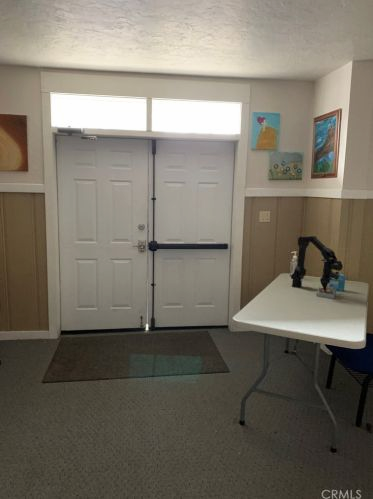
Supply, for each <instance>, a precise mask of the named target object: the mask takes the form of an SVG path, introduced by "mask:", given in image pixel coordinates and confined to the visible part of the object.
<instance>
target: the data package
mask: <svg viewBox="0 0 373 499" xmlns="http://www.w3.org/2000/svg"><path fill="white" fill-rule="evenodd" d="M339 274H340V276H339V278H338V280H336V279H335V278H332V280H330V284H329V287H332V288H333V291H334V290H336V292H338V291H339V292H343V291H344V290H345V285H346V275H345V274H341V273H339Z"/></svg>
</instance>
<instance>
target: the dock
mask: <svg viewBox="0 0 373 499" xmlns="http://www.w3.org/2000/svg"><path fill="white" fill-rule="evenodd" d="M336 294H337V291H336V290H333V291H332V294H329V291H327V293H324V290H322V292H319V289H318V290H317V291H316V293H315V296H316V297H318V298H319V297H321V298H326V299H331V300H332V299H335V297H336Z"/></svg>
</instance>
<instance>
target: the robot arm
mask: <svg viewBox="0 0 373 499" xmlns="http://www.w3.org/2000/svg"><path fill="white" fill-rule="evenodd" d="M310 243H311V244H312V245H314V247H316V249H318V250H319V251H320V253H321V256H322V257H323V258H322V259H321V261H322V262H323V268H322V276H321V277H320V281H319V282H320V283H321V286H323V289H324V291H326V288H327V284H328V283H330V280H332V278H335V279H336V280H338V278H339V276H340V274H341V273H339V271H342V270H343V267H344V266H343V263H342V261H341V260H338V258H337V255H336V254H335V251H334V250H332V249H331V248H329V247H327V246H326V245H324V244H323V242H321V241H320V240H319V239H318V238H317V236H315V235H310V236H299V237H298V238H297V245H298V246H297V247H298V256H297V264H296V267H295V268H294V271H293V273H292V274H291V275H290V279H291V280H292V281H291V282H292V283H291V287H293V288H298V289H299V288H301V287H302V286H303V279H304V277H305V276H306V273H307V269H306V268H305V259H306V252H307V251H306V250H307V248H308V247H309V245H310ZM333 270H335V271H333Z"/></svg>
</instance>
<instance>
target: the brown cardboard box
mask: <svg viewBox="0 0 373 499" xmlns="http://www.w3.org/2000/svg"><path fill="white" fill-rule="evenodd" d="M318 290H319V292H322V290H324V289H323V286H322V285H319V286H318ZM327 291H329V294H332V292H334V290H333V288H332V287H329V288H326V291H324V293H327Z"/></svg>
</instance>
